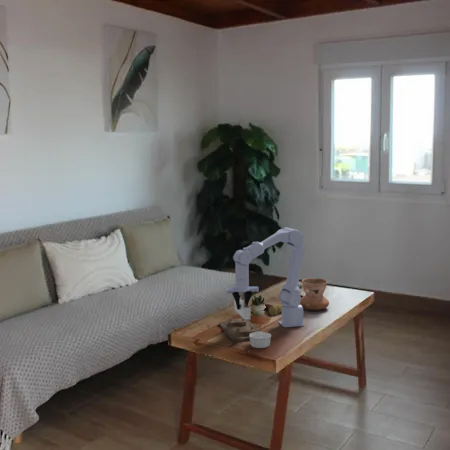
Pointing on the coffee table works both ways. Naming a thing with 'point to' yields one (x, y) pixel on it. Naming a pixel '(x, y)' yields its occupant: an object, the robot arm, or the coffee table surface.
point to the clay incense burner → (314, 294)
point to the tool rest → (238, 329)
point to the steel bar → (243, 310)
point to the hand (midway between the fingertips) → (241, 308)
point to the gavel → (274, 308)
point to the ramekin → (260, 339)
